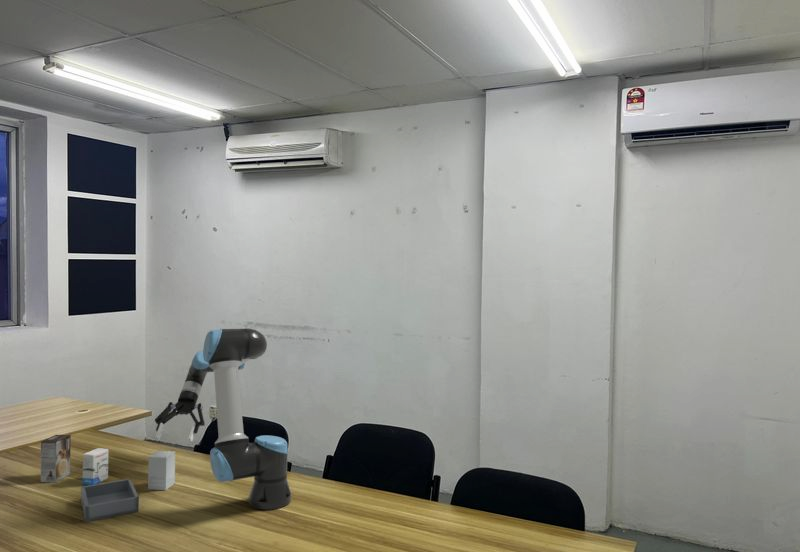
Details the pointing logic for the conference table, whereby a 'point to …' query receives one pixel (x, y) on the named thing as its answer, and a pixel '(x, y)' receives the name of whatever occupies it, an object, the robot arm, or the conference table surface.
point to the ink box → (95, 466)
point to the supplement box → (161, 470)
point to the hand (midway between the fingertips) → (173, 439)
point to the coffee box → (55, 458)
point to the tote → (109, 500)
